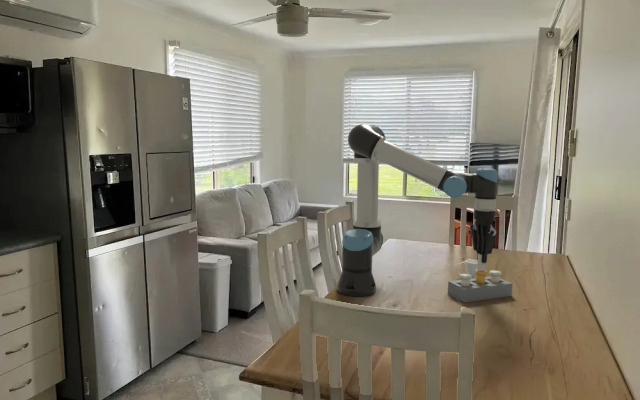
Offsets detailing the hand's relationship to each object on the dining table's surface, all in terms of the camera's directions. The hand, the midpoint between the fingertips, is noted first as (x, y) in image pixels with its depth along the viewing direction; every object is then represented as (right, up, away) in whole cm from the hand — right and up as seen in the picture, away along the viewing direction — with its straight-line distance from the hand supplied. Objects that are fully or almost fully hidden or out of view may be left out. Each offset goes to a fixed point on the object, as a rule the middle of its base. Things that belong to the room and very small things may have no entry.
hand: (481, 270), depth 178 cm
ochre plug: (0, -7, +1) cm, 7 cm away
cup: (+2, -7, +21) cm, 23 cm away
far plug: (+6, -8, +4) cm, 11 cm away
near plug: (-7, -8, -1) cm, 11 cm away
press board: (0, -10, +1) cm, 10 cm away
